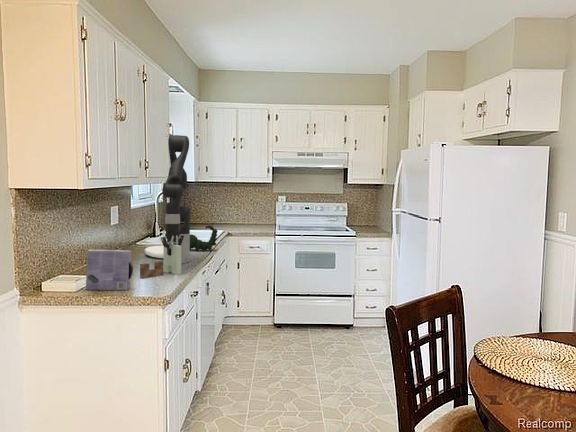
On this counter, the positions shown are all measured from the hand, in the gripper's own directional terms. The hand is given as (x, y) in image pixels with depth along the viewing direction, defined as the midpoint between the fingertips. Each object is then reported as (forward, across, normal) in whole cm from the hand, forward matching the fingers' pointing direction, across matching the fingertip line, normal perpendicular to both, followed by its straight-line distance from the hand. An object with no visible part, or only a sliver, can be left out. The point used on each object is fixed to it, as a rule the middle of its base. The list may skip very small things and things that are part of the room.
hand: (172, 254), depth 240 cm
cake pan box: (+10, +40, +9) cm, 43 cm away
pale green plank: (+10, 0, 0) cm, 10 cm away
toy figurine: (+10, -56, -46) cm, 73 cm away
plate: (+10, -29, -43) cm, 53 cm away
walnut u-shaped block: (+10, +12, 0) cm, 16 cm away
